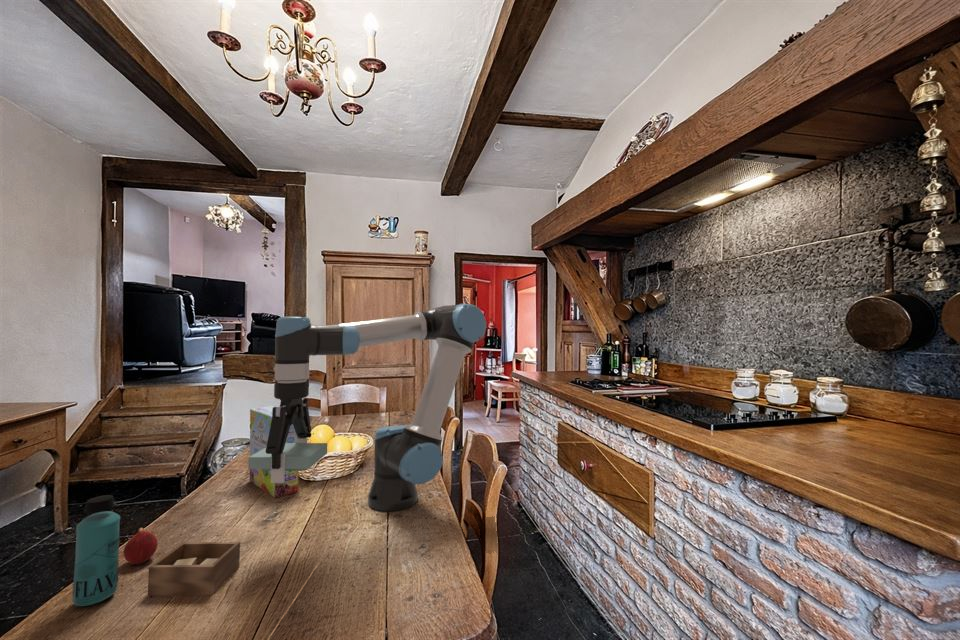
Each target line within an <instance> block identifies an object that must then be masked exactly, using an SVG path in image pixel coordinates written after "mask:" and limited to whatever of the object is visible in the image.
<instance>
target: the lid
mask: <svg viewBox="0 0 960 640" xmlns="http://www.w3.org/2000/svg"><path fill="white" fill-rule="evenodd" d="M283 452H285V471H299V472H300V471H302V472H305V471H307V470H309V469H311V468H312V467H313V466H314V465H316V463H318V462H319V461H321V460H322V458H324V457H325V456H326V455H327V454H328V443H327V442H307V443H285V447H284V450H283ZM247 467H248V470H250V469H261V471H271V454H267V453H266V448H264V449H262V450H261V451H259V452H257V453H255V454H253V455H252V456H250V455H249V456H248V466H247Z"/></svg>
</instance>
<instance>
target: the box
mask: <svg viewBox="0 0 960 640" xmlns="http://www.w3.org/2000/svg"><path fill="white" fill-rule="evenodd" d="M240 553H241V542H240V541H233V542H231V541H229V542H227V541H224V542H223V541H217V542H215V541H213V542H211V541H210V542H209V541H208V542H207V541H205V542H204V541H202V542H201V541H198V542H197V541H195V542H193V541H192V542H191V541H187V542H185V541H183V542H181V543H180V544H178V546H177V545H176V547H175V548H173V549H172V550H170V551H169V552H168V553H166V554H165V555H164V556H162V557H160V558H159V559H158V560H157V561H155V562H153V563H152V564H151V565H149V566H148V573H147V574H148V578H147V580H148V581H147V597H148V596H150V597H151V596H213V595H214V593H216V592H217V591H218V590H219V588H220V587H222V585H224V584H225V582H226V581H227V580H229V579H230V578H231V576H232V575H234V574H235V572H236V571H237V570H238V569H239V568H240V561H241V559H240V557H241V556H240ZM189 558H197V561H196V565H174V564H175V562H176V561H177V560H182V559H189ZM215 558H219V559H217V560H216V561H215V562H214V563H213V564H212V565H200V564H201V563H202V562H203V561H205V560H206V559H215Z"/></svg>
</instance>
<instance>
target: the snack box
mask: <svg viewBox="0 0 960 640" xmlns="http://www.w3.org/2000/svg"><path fill="white" fill-rule="evenodd" d="M273 407H276V406H274V405H268V406H264V407H263V406H262V407H255V408H254V407H253V408H249V457H250V456H252V455H253V454H255V453H257V452H259V451H261V450H262V449H264V448H266V446H267V441H268V436H269V431H270V426H271V421H272V410H273ZM296 438H299V437H297V434H296V432H295V429H294V426H293V424H292V425H291V426H290V429H289V433H288V436H287V440H286V443H295V439H296ZM299 472H300V471H285V482H284V483H271V471H261V469H249V481H250V483H252V484H253V485H255V486H257V487H258V488H260V489H261V490H262V491H264V492H266V493H267V494H268V495H269V496H271V497H273V498H274V499H275V498H279V496H280V497H283V496H285V495H289V493H290V494H293V493H297V492H299Z"/></svg>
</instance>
